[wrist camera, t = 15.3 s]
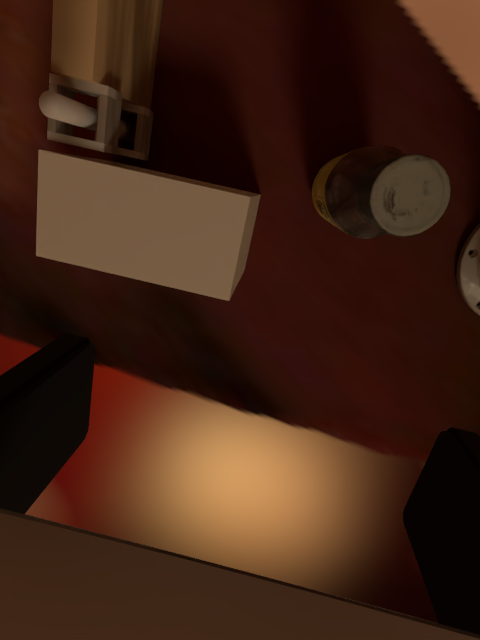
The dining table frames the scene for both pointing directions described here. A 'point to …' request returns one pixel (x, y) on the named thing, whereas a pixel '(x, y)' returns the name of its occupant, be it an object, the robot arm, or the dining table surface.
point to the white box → (139, 216)
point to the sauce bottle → (381, 192)
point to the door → (106, 67)
